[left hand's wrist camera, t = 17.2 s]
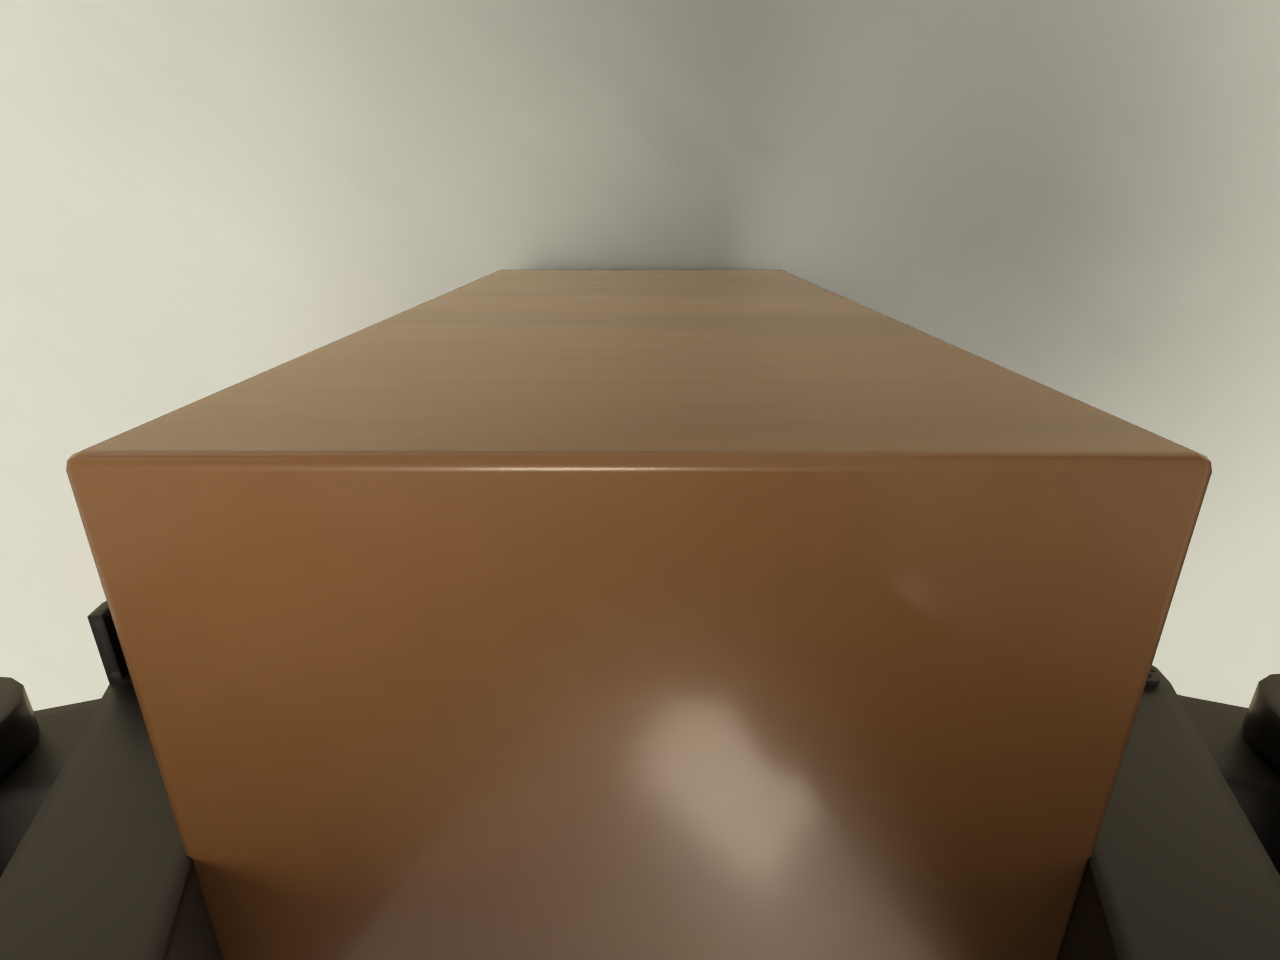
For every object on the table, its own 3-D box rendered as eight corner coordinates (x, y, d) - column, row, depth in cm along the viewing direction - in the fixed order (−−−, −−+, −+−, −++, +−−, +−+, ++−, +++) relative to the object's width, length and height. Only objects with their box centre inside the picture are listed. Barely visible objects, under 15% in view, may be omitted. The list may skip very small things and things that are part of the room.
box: (497, 269, 16) (51, 456, 4) (784, 269, 16) (1225, 458, 4) (548, 1001, 25) (460, 1746, 13) (732, 1002, 25) (817, 1749, 13)
